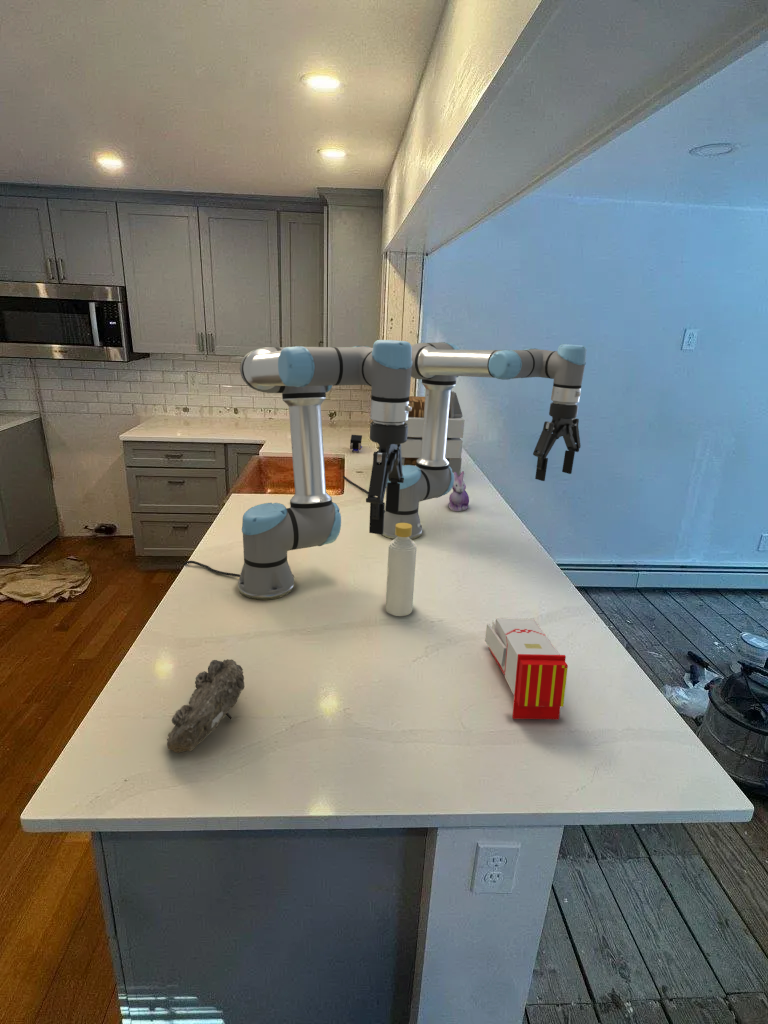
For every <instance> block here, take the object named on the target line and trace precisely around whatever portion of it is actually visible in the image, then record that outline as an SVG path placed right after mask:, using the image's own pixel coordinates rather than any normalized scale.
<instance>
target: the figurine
mask: <svg viewBox="0 0 768 1024" xmlns="http://www.w3.org/2000/svg"><path fill="white" fill-rule="evenodd" d="M464 478H465V471H464V470H461V474H460V475H459V476H458V475H457V473H456V472H454V484H453V487H452V489H451V490H452V492H451V493H450V494H449V501H448V509H450V510H451V511H453V512H461V511H465V510H467V509H468V508H469V505H470V497H469V494H468V492H467V491H466V489H467V485H466V482H465V479H464Z"/></svg>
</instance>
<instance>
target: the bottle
mask: <svg viewBox="0 0 768 1024" xmlns="http://www.w3.org/2000/svg"><path fill="white" fill-rule="evenodd" d="M417 547H418V546H417V543H415V542H414V540H413V539H410V538H409V537H399V536H397V537H396V538H395V539H391V541H390V542H389V543H388V549H387V550H388V552H387V553H388V554H387V569H386V570H387V572H386V592H385V611H386V613H388V614H389V615H391V616H395V617H405V616H409V615H410V614H411V613H412V612H413V607H414V606H413V605H414V591H415V578H416V577H415V576H416V562H417Z"/></svg>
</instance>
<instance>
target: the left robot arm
mask: <svg viewBox="0 0 768 1024" xmlns="http://www.w3.org/2000/svg"><path fill="white" fill-rule="evenodd" d="M411 346H412V344H411V343H410V342H409V341H406V340H397V339H377V340H375V341H374V342H373V345H372V347H371V346H369V345H355V346H302V345H294V346H286V347H284V346H283V347H280V346H277V347H276V346H275V347H273V346H265V347H260V348H256V349H253V350H251V351H249V352H248V353H246V354H245V355H244V356H243V358H242V359H241V362H240V366H239V372H240V376H241V379H242V380H243V382H244V383H245V384H246V385H247V386H248V387H249V388H250V389H252V390H255V391H258V392H261V393H267V394H281V397H282V398H281V399H282V401H283V402H284V403H285V405H287V407H288V414H289V415H288V416H289V428H290V443H291V456H292V457H291V459H292V473H293V484H294V495H293V496H292V497H291V498H290V499H289V507H286V506H285V505H284V504H283V503H280V502H273V503H272V502H266V503H265V502H264V503H260V504H257V505H254V506H252V507H250V508H248V509H247V510H246V511H245V512H244V513H243V515H242V525H241V526H242V527H241V532H242V547H243V550H242V551H243V565H242V568H241V572H240V573H233V572H227V571H222V570H217V569H214V568H212V567H210V566H209V565H206V564H204V563H201V562H198V561H195V560H186V561H185V562H183V564H182V565H183V566H186V565H188V564H193V565H197V566H199V567H201V568H204V569H206V570H208V571H210V572H213V573H215V574H219V575H223V576H230V577H236V578H238V583H237V587H238V588H237V589H238V592H239V594H241V595H242V596H243V597H246V598H248V599H251V600H257V601H258V600H260V601H266V600H275V599H279V598H282V597H284V596H287V595H289V594H290V593H292V591H294V588H295V579H294V578H295V576H294V574H293V572H292V570H291V567H290V564H289V562H288V552H289V551H295V550H301V549H307V548H314V547H322V546H325V545H329V544H332V543H334V542H335V541H336V540H337V539H338V537H339V535H340V533H341V528H342V516H341V512H340V507H339V506H338V504H337V503H336V502H333V498H332V496H331V495H330V494H328V493H327V486H326V485H327V484H326V470H325V469H326V468H325V467H326V466H325V453H324V436H323V421H322V419H323V418H322V404H323V403H324V401H325V400H326V399H327V395H326V394H327V393H328V392H329V391H331V390H332V388H333V387H334V386H369V387H371V389H370V390H371V392H370V393H371V396H370V412H369V413H370V415H369V418H370V420H371V422H370V423H369V440H370V441H371V442H373V443H375V444H378V450H376V451H374V452H373V454H372V468H371V473H370V480H369V486H368V494H367V497H366V498H365V503H369V532H368V533H369V534H375V535H381V536H383V535H382V534H383V529H384V510H385V504H386V511H388V512H396V513H398V512H399V493H400V484H399V483H403V482H404V478H402V476H403V473H402V457H401V444H402V443H405V442H406V441H407V434H408V425H407V423H405V422H406V421H407V420H408V411H411V410H412V408H411V406H408V404H409V397H410V396H411V383H412V377H411V370H412V347H411ZM388 479H389V481H390V482H391V483H390V482H388V483H387V481H388ZM398 482H399V483H398ZM386 486H387V498H386V497H385V496H386ZM374 496H375V497H374ZM384 499H385V502H384ZM187 563H188V564H187Z"/></svg>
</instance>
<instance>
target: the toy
mask: <svg viewBox="0 0 768 1024" xmlns="http://www.w3.org/2000/svg"><path fill="white" fill-rule="evenodd" d="M484 642H485V643H486V645H487V646H488V650H489V651H490V654H491V655H492V657H493V659H494V660H495V662H496V664H497V666H498V667H499V669H500V671H501V672H502V675H503V676H504V678H505V680H506V682H507V684H508V686H509V688H510V691H511V693H512V694H513V704H512V705H513V706H512V715H511V717H512V719H513V720H560V714H561V708H563V707H564V704H565V695H566V685H567V677H568V668H569V666H568V663H567V662H566V657H567V656H566V654H560V653H559V651H558V650H557V648H556V647H555V646H554V645H553V643H552V642H551V640H550V639H549V638H548V636H547V635H546V634H545V632H544V631H543V629H542V628H541V627H540V625H539V623H537V621H536V620H535V619H534V618H523V617H522V618H521V617H520V618H519V617H516V618H515V617H496V618H495V620H492V622H491V624H490V623H486V629H485V637H484Z"/></svg>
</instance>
